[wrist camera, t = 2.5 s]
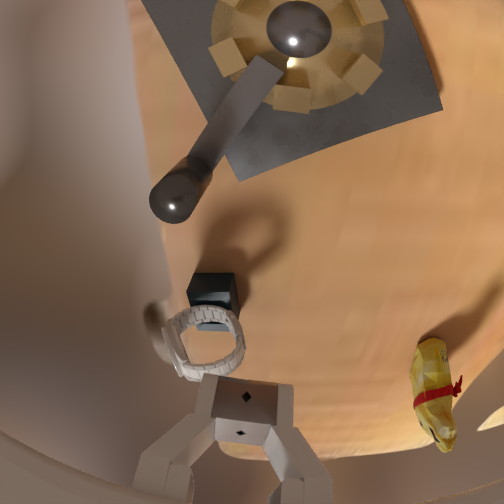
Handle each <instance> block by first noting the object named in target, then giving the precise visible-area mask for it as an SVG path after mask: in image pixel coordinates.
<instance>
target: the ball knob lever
mask: <svg viewBox="0 0 504 504" xmlns="http://www.w3.org/2000/svg"><path fill="white" fill-rule="evenodd" d="M388 19H389V17H388V15H387V13H386V11H385V9H384V7H383V5H382V3H381V1H380V0H218V1H217V3H216V6H215V9H214V12H213V16H212V23H211V36H212V43H213V46H211V47H209V48H208V49H209V51H210V53H211V55H212V57H213V59H214V60H215V62H216V64H217V66H218V68H219V70H220V72H221V74H222V75H223V77H224V78H225V77H228V76H229V77H230V78H231V80H232V81H233V82H235V84H234V86H233V87H232V89H231V90H230V92H229V93H228V94H227V96H226V97H225V99H224V100H223V102H222V103H221V105H220V106H219V107H218V109H217V110H216V112H215V113H214V115H213V116H212V118H211V119H210V121H209V122H208V124H207V125H206V127H205V129H204V130H203V132H202V133H201V135H200V136H199V138H198V139H197V141H196V143H195V144H194V146H193V147H192V149H191V150H190V152H189V154H188V155H187V156H186V157H184V158H183V159H182V160H181V161H180V162H178V163H177V164H176V165H175V166H174V167H173V168H172V169H171V170H170V171H169V172H168V173H167V174H166V175H165V176H164V177H163V178H162V179H161V180H160V181H159V182H158V183H157V184H156V185H155V186H154V188H153V189H152V190H151V193H150V196H149V203H150V207H151V209H152V211H153V213H154V214H155V215H156V216H157V217H158V218H159V219H160V220H162V221H164V222H166V223H171V224H178V223H181V222H184V221H185V220H187V219H188V218H189V217H190V215H191V214H192V212H193V210H194V209H195V207H196V205H197V204H198V202H199V200H200V199H201V197H202V195H203V194H204V192H205V190H206V189H207V187H208V185H209V184H210V182H211V180H212V176H213V170H214V169H215V167H216V166H217V164H218V163H219V161H220V160H221V158H222V157H223V155H224V154H225V153H226V151H227V150H228V148H229V147H230V145H231V144H232V143H233V141H234V140H235V138H236V137H237V135H238V134H239V133H240V131H241V130H242V128H243V127H244V126H245V124H246V123H247V122H248V120H249V119H250V117H251V116H252V115H253V113H254V112H255V111H256V109H257V108H258V107H259V105H260V104H261V103H262V101H263V102H265V103H267V104H270V105H273V110H281V111H290V112H297V113H305V114H309V110H313V109H319V108H325V107H328V106H332V105H335V104H337V103H340V102H342V101H344V100H346V99H348V98H349V97H351V96H353V95H354V94H355V93H358V94H360V95H363V94H364V93H365V92H366V90H367V89H368V88H369V87H370V86H371V84H372V83H373V82H374V81H375V80H376V79H377V77H378V76H379V75H380V74H381V73H382V72H383V70H382V69H381V68H380V67H379V66H378V65H379V63H380V60H381V57H382V53H383V48H384V28H383V23H382V21H385V20H388Z"/></svg>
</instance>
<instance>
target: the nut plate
mask: <svg viewBox="0 0 504 504" xmlns="http://www.w3.org/2000/svg"><path fill="white" fill-rule="evenodd" d="M141 1H142V3H143V5H144V6H145V8H146V10H147V12H148V13H149V15H150V17H151V19H152V21H153V22H154V24H155V26H156V28H157V29H158V31H159V33H160V35H161V37H162V38H163V40H164V42H165V44H166V46H167V48H168V49H169V51H170V53H171V55H172V57H173V58H174V60H175V62H176V64H177V66H178V68H179V69H180V71H181V73H182V75H183V77H184V79H185V80H186V82H187V84H188V86H189V88H190V90H191V92H192V93H193V95H194V97H195V99H196V101H197V103H198V105H199V106H200V108H201V110H202V112H203V114H204V116H205V118H206V120H207V121H208V122H209V121H210V119H211V118H212V116H213V115H214V113H215V112H216V110H217V109H218V107H219V106H220V105H221V103H222V102H223V100H224V99H225V97H226V96H227V94H228V93H229V92H230V90H231V89H232V87H233V86H234V84H235V82H233V81H232V80H231V78H230V77H229V76H228V77H225V78H224V77H223V75H222V74H221V72H220V70H219V68H218V66H217V64H216V62H215V60H214V59H213V57H212V55H211V53H210V51H209V49H208V48H209V47H211V46H213V43H212V36H211V23H212V16H213V12H214V9H215V6H216V3H217V1H218V0H141ZM380 1H381V3H382V5H383V7H384V9H385V11H386V13H387V15H388V17H389V19H388V20H385V21H382V23H383V28H384V48H383V53H382V57H381V60H380V63H379V65H378V66H379V67H380V68H381V69H382V70H383V72H382V73H381V74H380V75H379V76H378V77H377V79H376V80H375V81H374V82H373V83H372V84H371V86H370V87H369V88H368V89H367V90H366V92H365V93H364V94H363V95H360V94H358V93H355V94H354V95H353V96H351V97H349V98H348V99H346V100H344V101H342V102H340V103H337V104H335V105H332V106H328V107H325V108H319V109H313V110H309V114H305V113H297V112H290V111H281V110H273V105H270V104H267V103H265V102H263V101H262V103H261V104H260V105H259V107H258V108H257V109H256V111H255V112H254V113H253V115H252V116H251V117H250V119H249V120H248V122H247V123H246V124H245V126H244V127H243V128H242V130H241V131H240V133H239V134H238V135H237V137H236V138H235V140H234V141H233V143H232V144H231V145H230V147H229V148H228V150H227V151H226V153H225V156H226V158H227V159H228V161H229V163H230V165H231V167H232V169H233V171H234V173H235V175H236V177H237V179H238V181H239V182H241V181H243V180H246V179H248V178H251V177H253V176H255V175H258V174H260V173H263V172H265V171H268V170H270V169H273V168H275V167H278V166H280V165H283V164H285V163H288V162H291V161H293V160H296V159H298V158H301V157H304V156H306V155H309V154H312V153H314V152H317V151H320V150H322V149H325V148H328V147H331V146H333V145H336V144H339V143H342V142H345V141H347V140H350V139H353V138H356V137H359V136H362V135H365V134H368V133H371V132H374V131H377V130H380V129H383V128H386V127H389V126H392V125H395V124H398V123H402V122H405V121H408V120H411V119H414V118H418V117H421V116H424V115H428V114H431V113H435V112H438V111H442V110H443V107H442V104H441V100H440V97H439V93H438V90H437V87H436V84H435V81H434V77H433V74H432V71H431V69H430V66H429V63H428V60H427V57H426V55H425V52H424V49H423V47H422V44H421V41H420V39H419V36H418V34H417V32H416V29H415V27H414V25H413V22H412V20H411V18H410V15H409V13H408V11H407V9H406V7H405V5H404V3H403V1H402V0H380Z"/></svg>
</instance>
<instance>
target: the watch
mask: <svg viewBox="0 0 504 504" xmlns="http://www.w3.org/2000/svg"><path fill="white" fill-rule="evenodd" d="M186 293H187V296H188V300H189V303H190V308H187V309H185V310H182V312H179V313H177V314H176V315H175V316H174V317H173V318H171V319H169V320H168V321H167V323H166V328H164V327H163V328H162V335H163V338H164V342H165V345H166V347H167V350H168V353H169V356H170V358H171V361H172V363H173V365H174V368H175V370H176V371H177V373H178V375H179V376H180V377H182V375H184V376H185V377H186V378H187V379H188V380H190V381H197V382H199V381H200V382H201V380H202V377H203V374H204V373H209V374H215V375H220V376H228V374H231V373H232V372H233V371H235V370H236V368H238V366H239V365H240V364H241V362H242V360H243V358H244V354H245V350H246V346H245V340H244V334H243V330H242V327H241V324H240V322H239V314H240V309H239V303H238V297H237V290H236V284H235V278H234V273H194V274H193V276H192V279H191V281H190V284H189V286H188V289H187V291H186ZM190 310H191V311H190ZM194 323H195V324H196V327H197V330H198V331H230V332H231V333H232V335H233V336H234V338H235V340H236V346H237V347H236V348H235V349H234V350H233V351H232V354H229V355H227V356H226V357H224V359H220V360H218V361H215V364H214V362H212V363H206V364H193V363H190V361H189V358H188V356H187V353H186V351H185V348H184V345H183V343H182V340H181V337H180V334H181V333H182V332H184V331H185V330H186V329H187V328H189V327H191V326H193V325H194ZM209 371H210V372H209ZM220 371H221V372H220Z"/></svg>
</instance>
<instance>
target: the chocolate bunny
mask: <svg viewBox="0 0 504 504" xmlns="http://www.w3.org/2000/svg"><path fill="white" fill-rule="evenodd" d="M410 380H411V383H412V386H413V396H414V403H413V405H414V409H415V411H416V414H417V417H418V420H419V422H420V425H421V427H422V428H423V430H424V431H425V432H426V433H427V434H428V435H429V436H431V437H433V438H434V440H435V442H436V445H437V446H438V448H439V449H440V451H443V452H444V453H445V452H448V451H451V450H452V449H453V447H454V445H455V442H456V437H457V426H456V422H455V421H454V418H453V416H452V414H451V408H452V396H454V397H457V393H460V392H461V388H460V387H461V384H462V375H461V377H460V380H459V382H458V383H457V382H456V383H455V386H454V388H453V385H452V382H451V374H450V367H449V362H448V357H447V350H446V345H445V342H444V341H442V340H439V339H437V338H430V339H427V340H425V341H424V342H422V343H420V344H419V345H417V348H416V352H415V356H414V359H413V363H412V367H411V371H410Z"/></svg>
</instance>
